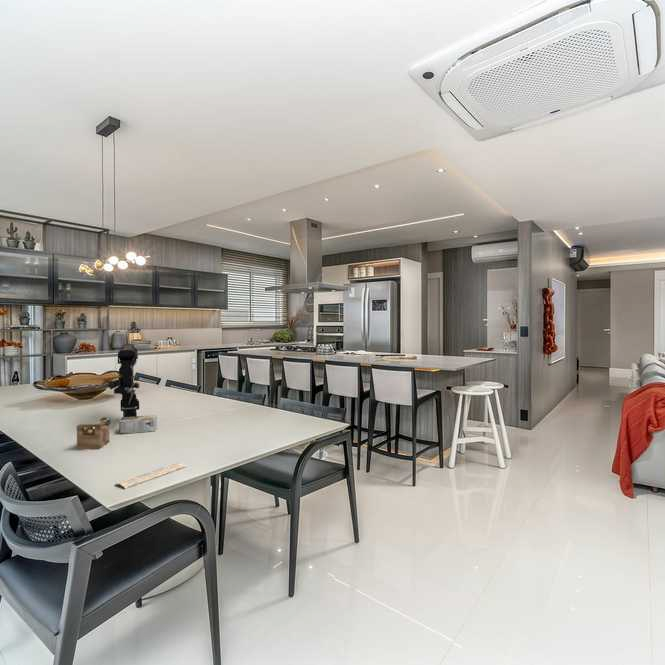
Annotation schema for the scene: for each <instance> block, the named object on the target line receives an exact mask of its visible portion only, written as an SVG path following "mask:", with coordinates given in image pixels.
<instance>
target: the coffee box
mask: <svg viewBox="0 0 665 665" xmlns="http://www.w3.org/2000/svg"><path fill="white" fill-rule="evenodd" d="M157 418H158V416H157V414H150V415H137V416H135V417H123V416H121V419H120V420H119V422H118V423H119V424H118V427H119V428H118V433H119V435H125V434H126V433H127V434H135V433H137V434H138V432H139V433H147V432H149V431H151V432H156V431H157V427H158V423H157V422H158V421H157V420H158V419H157ZM149 433H150V432H149Z"/></svg>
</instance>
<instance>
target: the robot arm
mask: <svg viewBox="0 0 665 665" xmlns="http://www.w3.org/2000/svg"><path fill="white" fill-rule="evenodd" d="M138 352H139V351H138V349H137V347H135V344H133V343H125V344H123V348H122V349H119V351H118V352H117V364H119V365H120V367H119V369H118V373H119V375H120V376H119V377H118V380H113V379H112V380H109V381H108V382H107V388H109V390H113V393H114V395H119V394H120V395H121V399H120V404H119V406H120V412H122V415H123V416H122V417H135V416H138V413H137V410H140V400H139V399H138V398H137V394H136V393H135V392H136V389H139V388H140V384H139V382H135V381H134V379H135V374H134V369H135V368H134V367H135V366H136V365H137V360H138V359H139V353H138Z"/></svg>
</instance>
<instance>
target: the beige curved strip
mask: <svg viewBox="0 0 665 665" xmlns="http://www.w3.org/2000/svg"><path fill="white" fill-rule="evenodd" d="M185 468H187V464H185V463H183V462H176V463H173V464H169V465H167V466H164V467H161V468H158V469H156V470H153V471H150V472H147V473H144V474H141V475H138V476H135V477H131V478H129V479H126V480H123V481H120V482H118V483H115V484H114V486H116V487H117V486H122V487H124V490H127V489H131V488H133V487H136V486H138V485H142V484H144V483H147V482H149V481H152V480H155V479H157V478H161V477H163V476H167V475H169V474H172V473H174V472H178V471H180V470H183V469H185Z"/></svg>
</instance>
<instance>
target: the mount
mask: <svg viewBox="0 0 665 665" xmlns="http://www.w3.org/2000/svg"><path fill="white" fill-rule="evenodd" d="M93 427H95V432H94V433H93V434H91V435H88V434H86V429H87V428H93ZM108 442H109V443H110V425H108V426H103V427H102V424H96V423H87V424H85V423H84V424H77V425H76V449H77V451H84V450H83V449H91V450H101V449H102V448H104V447H105V446H107V445H108V444H109V443H108ZM107 443H108V444H107ZM104 445H105V446H104ZM103 446H104V447H103ZM100 448H101V449H100Z"/></svg>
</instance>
